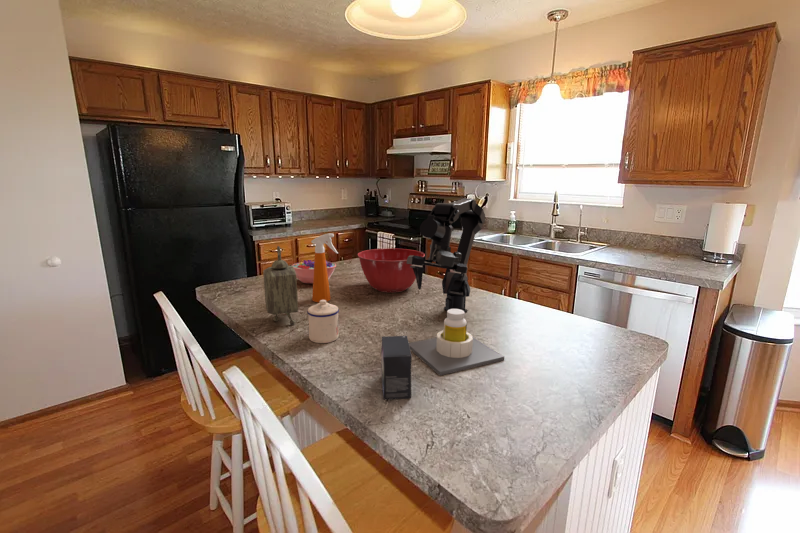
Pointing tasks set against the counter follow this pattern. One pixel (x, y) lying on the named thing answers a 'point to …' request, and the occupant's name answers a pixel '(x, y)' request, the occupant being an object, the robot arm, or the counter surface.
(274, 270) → the tabletop clock
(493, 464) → the counter surface
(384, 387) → the small box
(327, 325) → the teacup with lid
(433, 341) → the socket board
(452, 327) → the pill bottle
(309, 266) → the cell model
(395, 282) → the mixing bowl
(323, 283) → the spray bottle
